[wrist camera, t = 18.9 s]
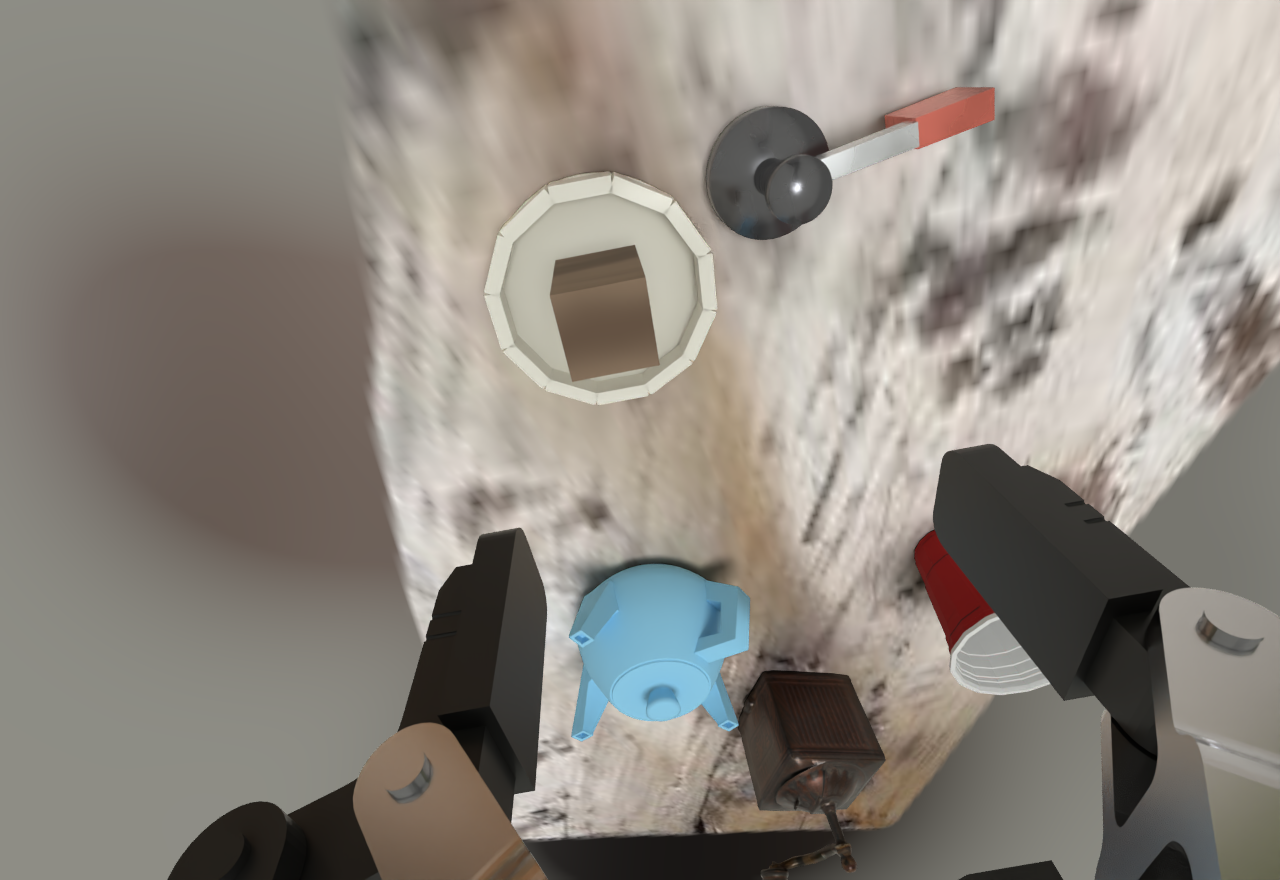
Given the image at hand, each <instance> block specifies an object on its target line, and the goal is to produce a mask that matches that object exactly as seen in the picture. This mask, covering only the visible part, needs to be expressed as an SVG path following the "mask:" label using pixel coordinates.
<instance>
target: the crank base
mask: <svg viewBox="0 0 1280 880" xmlns="http://www.w3.org/2000/svg"><path fill="white" fill-rule="evenodd" d="M828 151H829V149H828V145H827V142H826V139H825V137H824V135H823V133H822V131H821V130H820V128H819V127H818V125H817V124H816V123H815V122H814V121H813V120H812V119H811V118H809V117H808V116H807V115H805V114H804V113H802V112H800V111H798V110H795V109H792V108H787V107H779V106H765V107H759V108H755V109H752V110H750V111H747V112H745V113H744V114H742V115H740V116H739V117H737V118H736V119H735V120H733V121H732V122H731V123H730V124H729V125H728V126H727V127H726V128H725V129H724V130H723V132H722V133H721V134H720V136H719V137H718V139H717V141H716V142H715V144H714V146H713V148H712V151H711V153H710V156H709V160H708V164H707V171H706V186H707V193H708V196H709V200H710V202H711V205H712V207H713V209H714V210H715V212H716V214H717V215H718V216H719V217H720V219H721V220H722V221H723V222H724V223H725V224H727V225H728V226H729V227H730V228H731V229H732V230H733V231H735V232H736V233H738V234H740V235H742V236H744V237H748V238H751V239H757V240H767V239H774V238H778V237H781V236H784V235H786V234H788V233H790V232H792V231H794V230H795V229H797V228H798V227H799V226H801V225H802V224H805V223H808V222H810V221H812V220H813V219H815V218H816V217H817V216H818V215H820V213H821V212H822V211H823V210H824V209H825V207H826V205H827V204H828V202H829V199H830V196H831V193H832V177H831V173H830V171H829V169H828V167H827V166H826V164H825V163H824V162H823V161H821V160H820V159H818V158H816V157H815V156H817V155H820V154H823V153H825V152H828Z"/></svg>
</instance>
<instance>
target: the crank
mask: <svg viewBox="0 0 1280 880" xmlns="http://www.w3.org/2000/svg"><path fill="white" fill-rule="evenodd" d="M992 120H994V87H968V88H953V89H950V90H948V91H945V92H943V93H940V94H938V95H935V96H933V97H930V98H928V99H925V100H923V101H920V102H918V103H915V104H912V105H910V106H907V107H905V108H902V109H900V110H897V111H895V112H892V113H890V114H887V115H885V125H886V129H884V130H881V131H879V132H876V133H873V134H871V135H868V136H866V137H863V138H861V139H858V140H856V141H853V142H851V143H848V144H845V145H843V146H840V147H838V148H835V149H833V150H830V151H828V152H825V153H823V154H820V155H817V156H815V157H816V158H818V159H820V160H821V161H823V162H824V163H825V164H826V166H827V167H828V169H829V171H830V173H831V177H832V180H834V179H837V178H839V177H842V176H845V175H847V174H850V173H852V172H855V171H858V170H860V169H863V168H865V167H868V166H871V165H873V164H876V163H878V162H881V161H883V160H886V159H889V158H891V157H894V156H896V155H899V154H902V153H904V152H907V151H909V150H912V149H920V148H922V147H925V146H928V145H930V144H933V143H935V142H938V141H940V140H943V139H946V138H948V137H951V136H953V135H956V134H959V133H961V132H964V131H966V130H969V129H972V128H974V127H977V126H979V125H982V124H984V123H987V122H990V121H992Z"/></svg>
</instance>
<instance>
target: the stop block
mask: <svg viewBox="0 0 1280 880" xmlns="http://www.w3.org/2000/svg"><path fill="white" fill-rule="evenodd" d="M550 299H551V303H552V307H553V311H554V315H555V318H556V322H557V326H558V330H559V334H560V337H561V341H562V345H563V349H564V353H565V357H566V360H567V364H568V368H569V372H570V376H571V379H572V382H575V381H580V380H585V379H590V378H596V377H601V376H606V375H611V374H617V373H622V372H627V371H632V370H638V369H643V368H648V367H653V366H659V365H660V363H659V357H658V351H657V344H656V338H655V332H654V326H653V320H652V314H651V307H650V301H649V295H648V289H647V283H646V277H645V274H644V271H643V268H642V265H641V262H640V259H639V256H638V253H637V250H636V247H635V245H631V246H626V247H621V248H615V249H610V250H605V251H600V252H595V253H590V254H585V255H579V256H574V257H569V258H564V259H559V260H555V266H554V272H553V278H552V284H551V290H550Z"/></svg>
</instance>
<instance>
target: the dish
mask: <svg viewBox="0 0 1280 880" xmlns="http://www.w3.org/2000/svg"><path fill="white" fill-rule="evenodd" d="M631 245H635V247H636V250H637V253H638V256H639V259H640V262H641V265H642V268H643V271H644V274H645V277H646V283H647V289H648V295H649V301H650V307H651V314H652V320H653V326H654V332H655V338H656V344H657V351H658V357H659V363H660V365H659V366H653V367H648V368H643V369H638V370H632V371H627V372H622V373H617V374H611V375H606V376H601V377H596V378H590V379H585V380H580V381H575V382H572V379H571V376H570V372H569V368H568V364H567V360H566V357H565V353H564V349H563V345H562V341H561V337H560V334H559V330H558V326H557V322H556V318H555V315H554V311H553V307H552V303H551V299H550V290H551V284H552V278H553V272H554V266H555V260H559V259H564V258H569V257H574V256H579V255H585V254H590V253H595V252H600V251H605V250H610V249H615V248H621V247H626V246H631ZM710 250H711V249H710V248H709V246H708V245H707V244H706V242H705V241H704V239H703V238H702V237H701V235H700V234H699V233H698V231H697V230H696V228H695V227H694V226H693V224H692V222H691V221H690V219H689V218H688V217H687V216H686V215H685V213H684V212H683V211H682V209H681V208H680V206H679V205H678V204H677V202H676V201H675V200H674V199H673V197H672V196H670V195H669V194H668V193H665V192H663V191H660V190H658V189H657V188H655V187H654V186H652V185H649V184H647V183H645V182H643V181H641V180H639V179H636V178H633V177H630V176H627V175H622V174H618V173H616V172H612V173H610V172H609V171H606V172H591V173H582V174H577V175H573V176H569V177H565V178H563V179H560V180H558V181H553V182H549V184H548V185H546V184H545V185H544V186H543V187H542V188H541V189H540V190H539V191H537V192H536V193H535V194H534V195H532V196H531V197H530V198H529V199H528V200H526V201H525V202H524V203H523V204H522V206H521V207H520V208H519V209H518V210H517V211H516V212H515V214H514V215H513V216H512V217H511V218H510V219H509V220H508V221H507V222H506V223H505V224H504V225H503V226H502V228H501V230H500V232H499V233H498V235H497V239H496V244H495V248H494V252H493V256H492V260H491V265H490V269H489V273H488V277H487V281H486V286H485V290H484V293H485V295H484V297H485V301H486V304H487V307H488V310H489V313H490V316H491V319H492V322H493V326H494V329H495V332H496V335H497V338H498V341H499V344H500V347H501V349H504V351H503V353H504V354H505V355H506V356H507V357H509V358H510V359H511V360H512V361H513V362H514V363H515V364H516V365H517V366H518V367H519V368H520V369H521V370H522V371H523V372H524V373H526V374H527V375H528V376H529V377H530V378H531V379H532V380H533V381H534V382H535V383H536V384H537V385H538V386H539V387H540V388H541V389H543V388H544V387H545V391H548V392H551V393H555V394H558V395H562V396H565V397H569V398H572V399H576V400H579V401H583V402H586V403H589V404H593V405H595V404H596V401H597V402H598V405H602V404H608V403H613V402H618V401H624V400H629V399H635V398H640V397H646V396H648V392H649V393H650V394H651V395H652V394H653V393H654V392H656V391H657V390H658V389H660V388H661V387H662V386H664V385H665V384H666V383H667V382H669V381H670V380H671V379H673V378H674V377H675V376H677V375H678V374H679V373H681V372H682V371H683V370H685V369H686V368H687V367H688V366H690V365H691V364H692V361H691V360H693V361H695V359H696V357H697V354H698V352H699V350H700V348H701V346H702V344H703V341H704V339H705V337H706V335H707V333H708V331H709V328H710V326H711V324H712V322H713V320H714V317H715V315H716V313H717V312H716V311H715V310H716V309H717V300H716V288H715V277H714V266H713V254H712V252H711V251H710Z"/></svg>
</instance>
